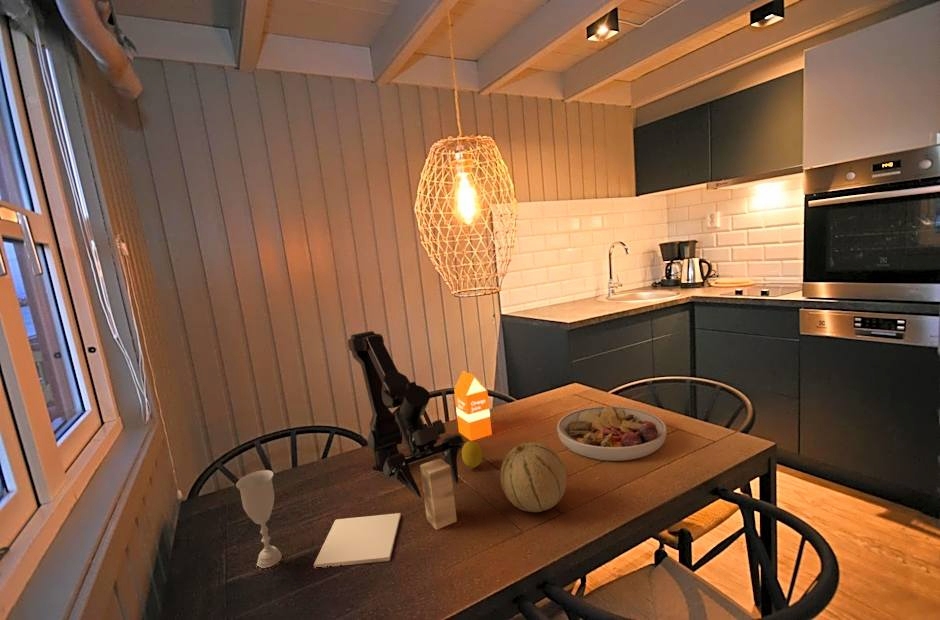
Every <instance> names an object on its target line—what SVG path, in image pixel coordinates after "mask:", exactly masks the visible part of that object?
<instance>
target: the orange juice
mask: <svg viewBox="0 0 940 620" xmlns="http://www.w3.org/2000/svg"><path fill="white" fill-rule="evenodd" d="M453 391H454V399H455V400H454V401H455V408H456V409H455V410H456V418H457V419H456V420H457V426H458V433H459V434H461V435H462V436H463V437H465V438H466V439H468V441H469V440H472V441H476V440H478V439H481V438H485V437H487V436H491V435H493V434H492V433H493V432H492V425H491V411H490V404H489V395H488V394H489V393H488V389H486V388H485V386H484V385H483V384H482V383H481V382H480V381H479V380H478V379H477V377H476V376H475V375H474V374H471V373H469V372H467V371H464V370H463V371H462V372H461V374H460V377H459V379H458V381H457V382H456V385H455V387H454V389H453Z"/></svg>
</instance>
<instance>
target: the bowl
mask: <svg viewBox="0 0 940 620" xmlns="http://www.w3.org/2000/svg"><path fill="white" fill-rule="evenodd" d="M556 430H557V435H558V438H559V440H560V441H561V442H562V444H563V445H564V446H565V447H567V448H568V449H569V450H571V451H572V452H574V453H575V454H578V455H580V456H583V457H586V458H589V459H593V460H600V461H607V462H608V461H610V462H611V461H613V462H617V461H618V462H619V461H629V460H631V461H632V460H636V459H637V460H638V459H639V458H644V457H646V456H649V455H650V454H653V453H655V452H656V451H657V450H658V449H660V448H661V446H662V445H664V443H665V440H666V437H667V426H666V423H665V422H664V421H663V420H662V419H661V418H660V417H658V416H657V415H655V414H653V413H650V412H648V411H645V410H642V409H638V408H632V407H625V406H614V405H613V406H612V405H611V406H606V405H605V406H593V407H586V408H581V409H578V410H574V411H571V412H569V413H568V414H566V415H564V416H562V417H561V418H560V419H559V420H558V422H557V425H556Z"/></svg>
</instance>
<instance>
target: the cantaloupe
mask: <svg viewBox="0 0 940 620" xmlns="http://www.w3.org/2000/svg"><path fill="white" fill-rule="evenodd" d="M567 475H568V474H567V470H566V465H565V464H564V462H563V460H562V458H561V457H560V455H559V454H558V453H557V452H556V451H555V450H554V449H552V448H551V447H550V446H548V445H545V444H543V443H539V442H538V443H537V442H534V441H532V442H526V443H525V442H524V443H522V444H519V445H517V446H515V447H514V448H512V449H511V450H510V451H509V452H508V453H507V454H506V455H505V457H504V458H503V461H502V464H501V467H500V485H501V488H502V490H503V492H504V495H505V496H506V498H507V499H508V501H509V502H511V504H512V505H513V506H514V507H515V508H516V509H519V510H522V511H524V512H529V513H540V512H543V511H548V510H549V509H550V510H551V509H552V508H553V507H555V505H558V503H560V500H561V499H562V497H563V496H564V494H565V491H566V489H567V481H568V479H567V478H568V477H567Z"/></svg>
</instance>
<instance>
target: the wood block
mask: <svg viewBox="0 0 940 620" xmlns="http://www.w3.org/2000/svg"><path fill="white" fill-rule="evenodd" d="M419 467H420V477H421V484H422V491H423V499H424V507H425V508H424V509H425V516H426V520H427V521H428V522H429V523H430V525H431V526H432V527H433V528H434V529H435V530H436V531H438V530H440V529H442V528H444V527H446V526H449V525H451V524H454V523H456V522H458V521H457V520H458V519H457V512H456V503H455V494H454V493H455V492H454V485H453V479H452V475H451V467H450V465H449V464H447V463H446V462H445V461H444V459H442V458H440V457H439V458H436V459H433V460H430V461H428V462H425V463H422V464H420V466H419Z"/></svg>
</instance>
